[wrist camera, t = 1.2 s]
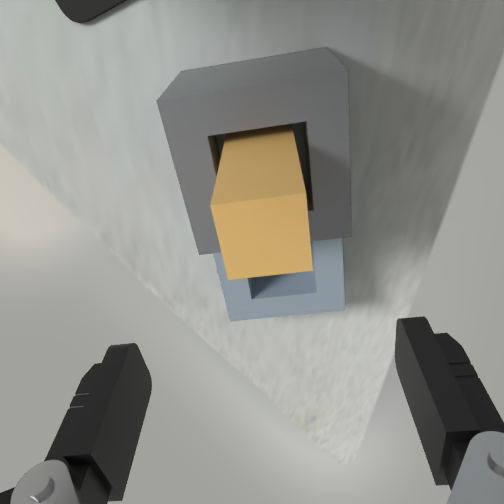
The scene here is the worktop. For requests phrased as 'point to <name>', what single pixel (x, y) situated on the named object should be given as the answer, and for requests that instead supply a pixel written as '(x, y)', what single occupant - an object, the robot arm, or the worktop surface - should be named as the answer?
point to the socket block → (310, 157)
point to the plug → (261, 204)
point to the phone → (86, 8)
